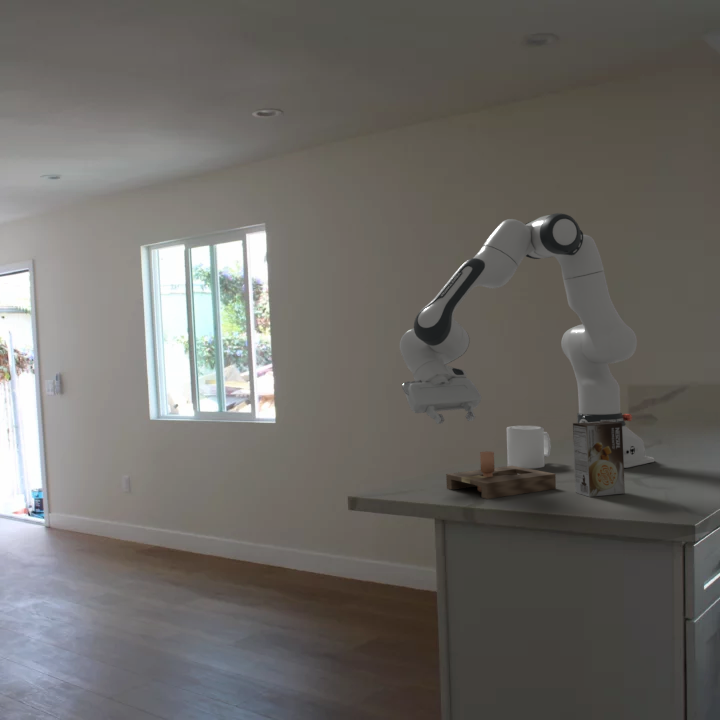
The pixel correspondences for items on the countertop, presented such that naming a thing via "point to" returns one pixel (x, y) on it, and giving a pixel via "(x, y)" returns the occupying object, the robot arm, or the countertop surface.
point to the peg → (486, 464)
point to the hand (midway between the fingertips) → (456, 420)
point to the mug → (527, 446)
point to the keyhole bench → (503, 481)
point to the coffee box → (598, 458)
